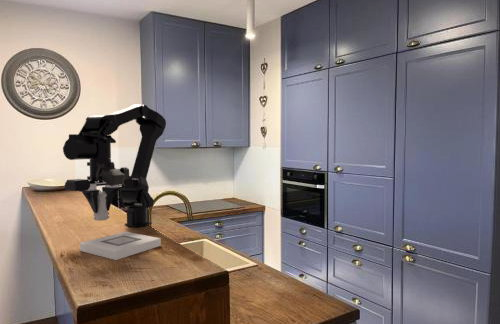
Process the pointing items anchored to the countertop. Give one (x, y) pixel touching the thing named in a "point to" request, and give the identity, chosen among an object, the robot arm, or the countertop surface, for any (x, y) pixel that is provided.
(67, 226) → the countertop surface
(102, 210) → the rook chess piece
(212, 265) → the countertop surface
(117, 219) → the countertop surface
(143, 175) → the robot arm
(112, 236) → the socket block
